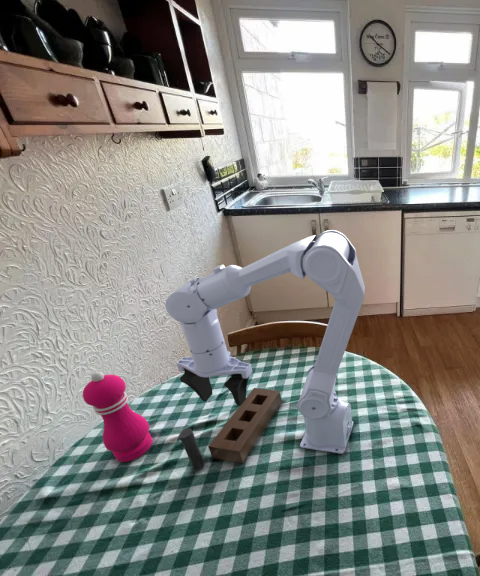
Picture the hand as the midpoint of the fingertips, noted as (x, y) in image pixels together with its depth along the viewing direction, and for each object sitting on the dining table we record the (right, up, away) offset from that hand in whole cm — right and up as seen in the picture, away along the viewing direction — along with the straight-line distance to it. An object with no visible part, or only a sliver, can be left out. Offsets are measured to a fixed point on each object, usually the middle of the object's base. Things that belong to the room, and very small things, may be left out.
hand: (224, 399), depth 63 cm
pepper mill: (-20, -11, +2) cm, 23 cm away
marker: (-4, -12, -2) cm, 13 cm away
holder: (+3, -8, +6) cm, 11 cm away
